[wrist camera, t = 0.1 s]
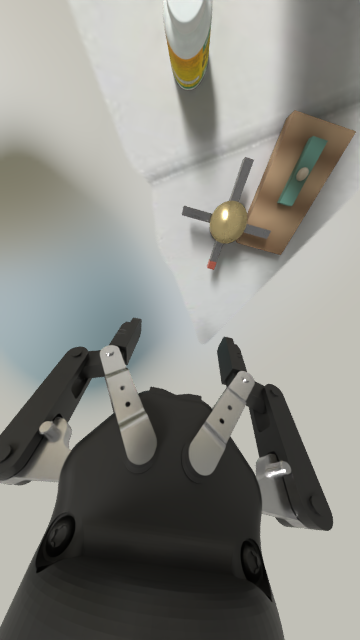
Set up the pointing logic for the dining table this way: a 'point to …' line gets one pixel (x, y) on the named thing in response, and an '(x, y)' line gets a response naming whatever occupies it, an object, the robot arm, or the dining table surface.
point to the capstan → (228, 217)
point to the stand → (294, 178)
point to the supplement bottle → (188, 39)
